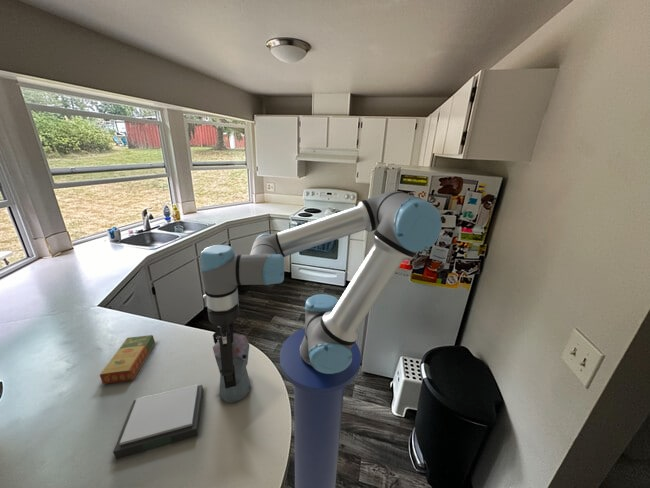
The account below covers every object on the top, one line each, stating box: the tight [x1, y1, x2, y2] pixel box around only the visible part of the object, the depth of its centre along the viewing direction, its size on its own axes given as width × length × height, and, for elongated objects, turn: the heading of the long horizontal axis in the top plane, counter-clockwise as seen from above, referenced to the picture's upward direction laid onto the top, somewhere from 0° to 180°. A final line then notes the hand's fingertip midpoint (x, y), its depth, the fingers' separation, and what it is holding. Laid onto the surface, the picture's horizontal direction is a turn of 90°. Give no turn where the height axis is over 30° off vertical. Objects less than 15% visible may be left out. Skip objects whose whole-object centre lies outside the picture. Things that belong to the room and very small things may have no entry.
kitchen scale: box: [112, 384, 204, 460], centre depth 65 cm, size 17×13×3 cm
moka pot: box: [212, 330, 251, 403], centre depth 71 cm, size 10×15×20 cm, turn 58°
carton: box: [99, 334, 156, 385], centre depth 82 cm, size 8×16×4 cm, turn 12°
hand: (231, 368), depth 72 cm, fingers open, 11 cm apart
